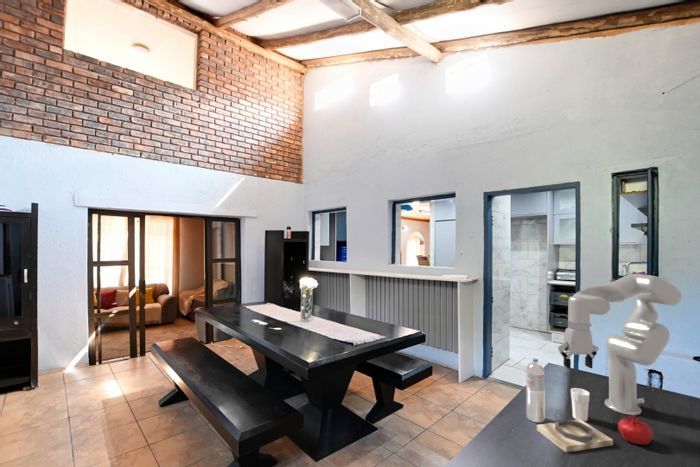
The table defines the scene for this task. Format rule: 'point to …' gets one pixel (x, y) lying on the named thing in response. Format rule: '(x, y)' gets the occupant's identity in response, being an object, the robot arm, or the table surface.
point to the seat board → (575, 431)
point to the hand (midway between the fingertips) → (577, 367)
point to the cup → (580, 403)
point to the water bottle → (535, 392)
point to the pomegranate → (635, 430)
